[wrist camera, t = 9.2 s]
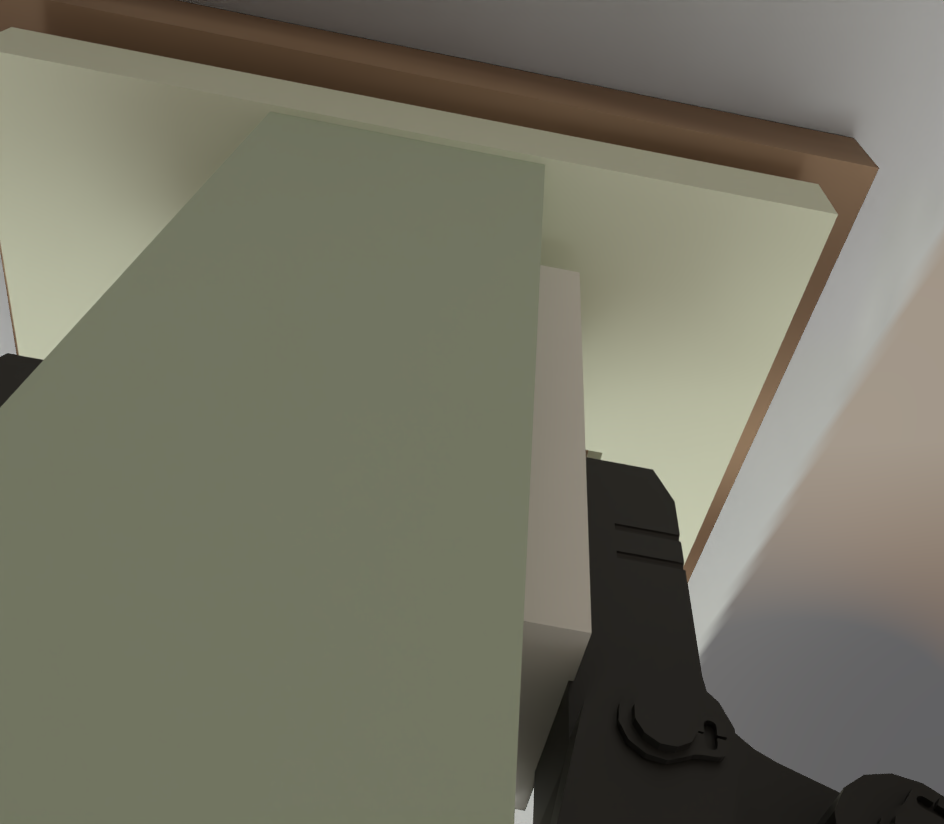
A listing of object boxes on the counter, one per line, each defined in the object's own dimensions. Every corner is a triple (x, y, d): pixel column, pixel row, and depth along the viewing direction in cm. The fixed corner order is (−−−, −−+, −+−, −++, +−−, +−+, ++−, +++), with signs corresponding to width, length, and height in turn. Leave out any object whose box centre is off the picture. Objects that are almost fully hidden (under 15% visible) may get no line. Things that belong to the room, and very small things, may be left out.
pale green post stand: (11, 27, 13) (-2288, 1015, 3) (818, 184, 14) (1758, 1629, 3) (92, 623, 21) (-384, 1466, 11) (598, 712, 22) (633, 1616, 11)
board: (6, -35, 15) (-43, -19, 14) (853, 138, 15) (879, 168, 14) (89, 618, 25) (65, 660, 24) (604, 710, 25) (607, 757, 24)
